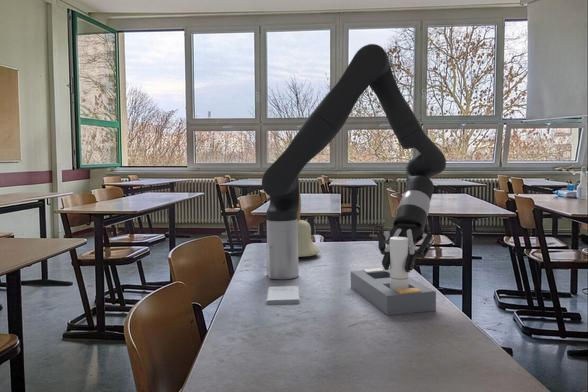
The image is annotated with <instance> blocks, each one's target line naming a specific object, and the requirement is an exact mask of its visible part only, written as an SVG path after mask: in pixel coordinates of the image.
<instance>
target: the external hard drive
mask: <svg viewBox="0 0 588 392" xmlns="http://www.w3.org/2000/svg"><path fill="white" fill-rule="evenodd" d="M265 301H266V303H265V304H266V305H289V304H296V305H297V304H301V303H300V287H299V286H298V285H289V286H288V285H285V286H284V285H283V286H282V285H281V286H269V287H268V289H267V295H266V300H265Z"/></svg>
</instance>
